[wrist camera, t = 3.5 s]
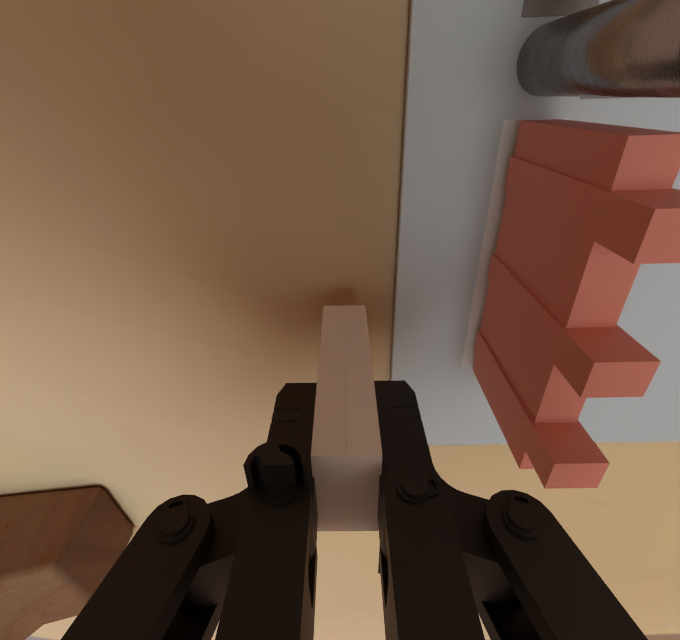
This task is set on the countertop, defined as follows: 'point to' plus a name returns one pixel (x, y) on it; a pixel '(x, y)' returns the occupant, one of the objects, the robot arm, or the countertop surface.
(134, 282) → the countertop surface
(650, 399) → the card
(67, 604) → the wooden block
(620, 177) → the fence panel
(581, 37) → the post
